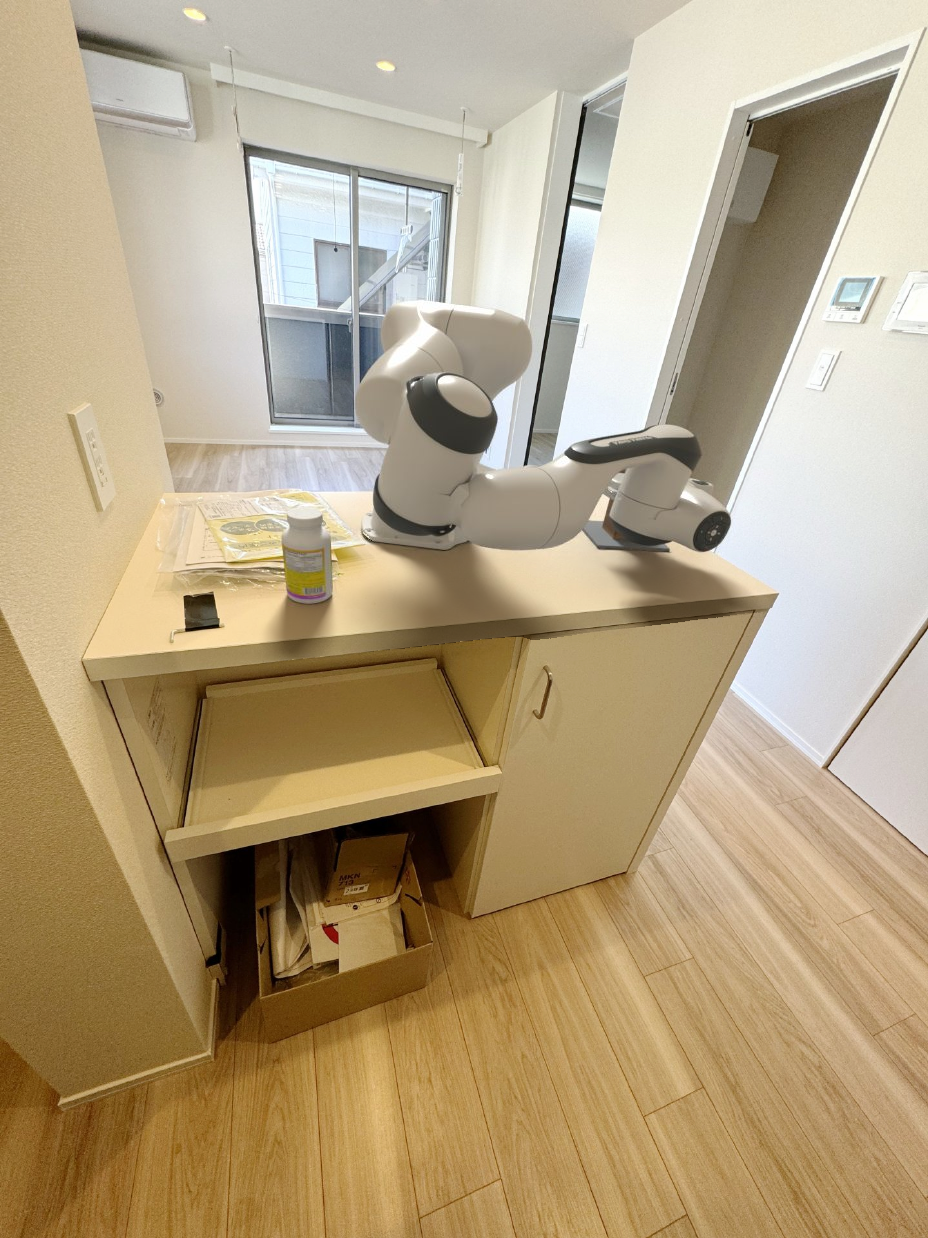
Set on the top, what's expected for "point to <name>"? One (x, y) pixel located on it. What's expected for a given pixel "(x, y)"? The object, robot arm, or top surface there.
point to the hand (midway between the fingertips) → (635, 476)
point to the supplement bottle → (307, 556)
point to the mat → (606, 541)
